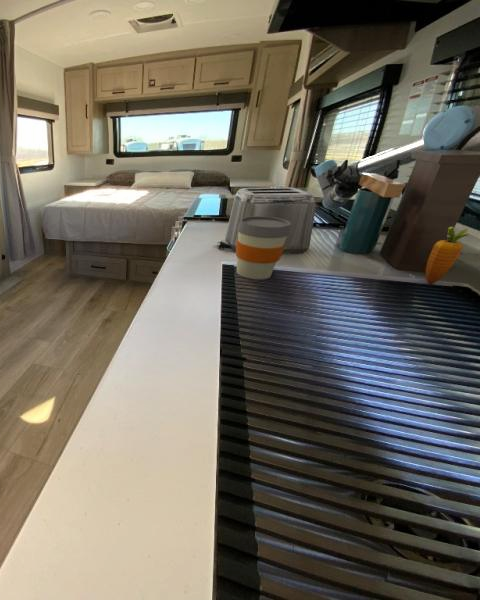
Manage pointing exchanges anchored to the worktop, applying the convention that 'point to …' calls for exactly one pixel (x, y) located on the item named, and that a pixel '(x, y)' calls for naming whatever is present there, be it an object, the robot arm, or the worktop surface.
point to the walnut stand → (430, 205)
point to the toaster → (275, 214)
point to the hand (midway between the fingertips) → (371, 163)
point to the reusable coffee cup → (260, 245)
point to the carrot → (443, 256)
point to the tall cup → (365, 222)
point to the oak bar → (381, 185)
